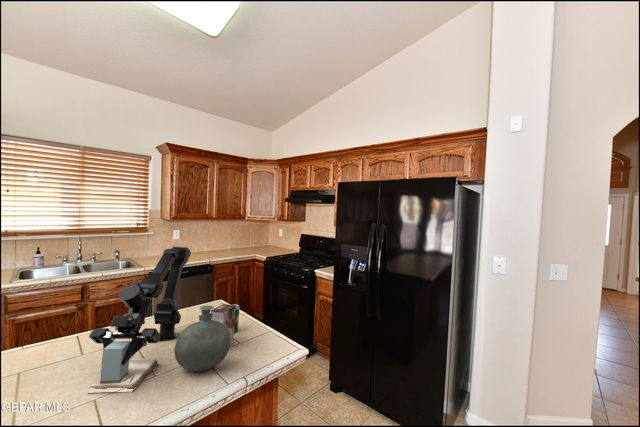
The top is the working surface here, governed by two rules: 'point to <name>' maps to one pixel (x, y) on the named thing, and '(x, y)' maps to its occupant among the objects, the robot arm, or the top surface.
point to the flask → (202, 343)
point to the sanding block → (114, 362)
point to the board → (131, 374)
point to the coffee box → (225, 317)
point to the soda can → (236, 318)
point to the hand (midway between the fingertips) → (112, 365)
